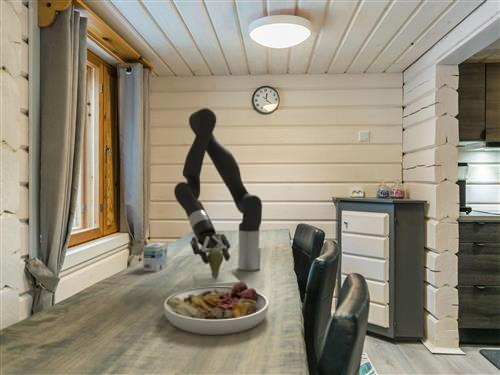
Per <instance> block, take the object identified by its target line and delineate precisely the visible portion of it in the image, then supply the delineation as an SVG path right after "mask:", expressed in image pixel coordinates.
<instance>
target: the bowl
mask: <svg viewBox="0 0 500 375" xmlns="http://www.w3.org/2000/svg"><path fill="white" fill-rule="evenodd" d="M269 305H270V303H269V300H268V298H267V297H266V296H265V295H264V294H262V293H260V292H257V291H256V289H255V288H252V287H251V288H248V285H247V284H246V283H245V282H244V281H240V282H238V283H237V284H235V285H234V287H228V286H209V287H198V288H193V287H192V288H188V289H184V290H181V291H178V292H176V293H173V294H172V295H170V296H168V297H167V298H166V299H165V301H164V302H163V312H164V315H165V317H166V318H167V320H168V321H169V322H170V323H171V324H172V325H173V326H174V327H176V328H178V329H180V330H183V331H184V332H188V333H193V334H197V335H206V336H207V335H210V336H217V335H221V334H222V335H229V334H230V333H231V334H237V333H241V332H243V331H247V330H249V329H252V328H255V326H257V325H258V324H260V323H261V322H262V321H263V320H264V319H265V318H266V316H267V314H268V311H269ZM236 332H237V333H236Z"/></svg>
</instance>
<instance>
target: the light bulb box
mask: <svg viewBox="0 0 500 375" xmlns="http://www.w3.org/2000/svg"><path fill="white" fill-rule="evenodd" d="M142 250H143V258H142V260H143V268H142V270H143V272H155V273H157V272H159V271H162V270H163V269H165V268H167V267H168V243H167V242H166V243H165V242H153V243H150V244H146V245H144V246H143V248H142Z"/></svg>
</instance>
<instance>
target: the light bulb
mask: <svg viewBox="0 0 500 375" xmlns="http://www.w3.org/2000/svg"><path fill="white" fill-rule="evenodd" d="M207 256H208V258H209V262H208V264H209V267H210V272H211V273H212V277H213V278H217V277H218V276H219V273H220V272H219V271H220V268H221V265H222V264H223V261H224V256H223V254H222V252H221V251H219V250H212V251H209V253H208V254H207Z"/></svg>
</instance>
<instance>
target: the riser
mask: <svg viewBox="0 0 500 375" xmlns="http://www.w3.org/2000/svg"><path fill="white" fill-rule="evenodd" d="M238 282H241V281H240V280H239V279H238V278H237V277H236V276H235V275H234V274H233V273H232V272H230V271H224V272H221V271H220V272H219V276H218V277H217V278H213V277H212V272H211V273H210V272H209V273H208V272H207V273H194V274H192V288H198V287H209V286H228V287H234V285H235V284H237V283H238Z"/></svg>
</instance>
